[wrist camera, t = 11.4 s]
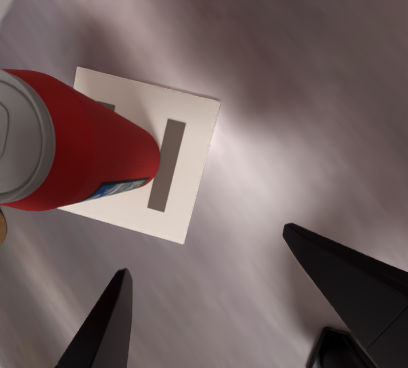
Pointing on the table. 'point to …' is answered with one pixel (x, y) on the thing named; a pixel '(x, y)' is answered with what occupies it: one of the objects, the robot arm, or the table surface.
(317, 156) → the table surface
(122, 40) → the table surface
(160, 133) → the letter mat
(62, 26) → the table surface
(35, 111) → the beverage can
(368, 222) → the table surface
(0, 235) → the brown knobbed pedestal
